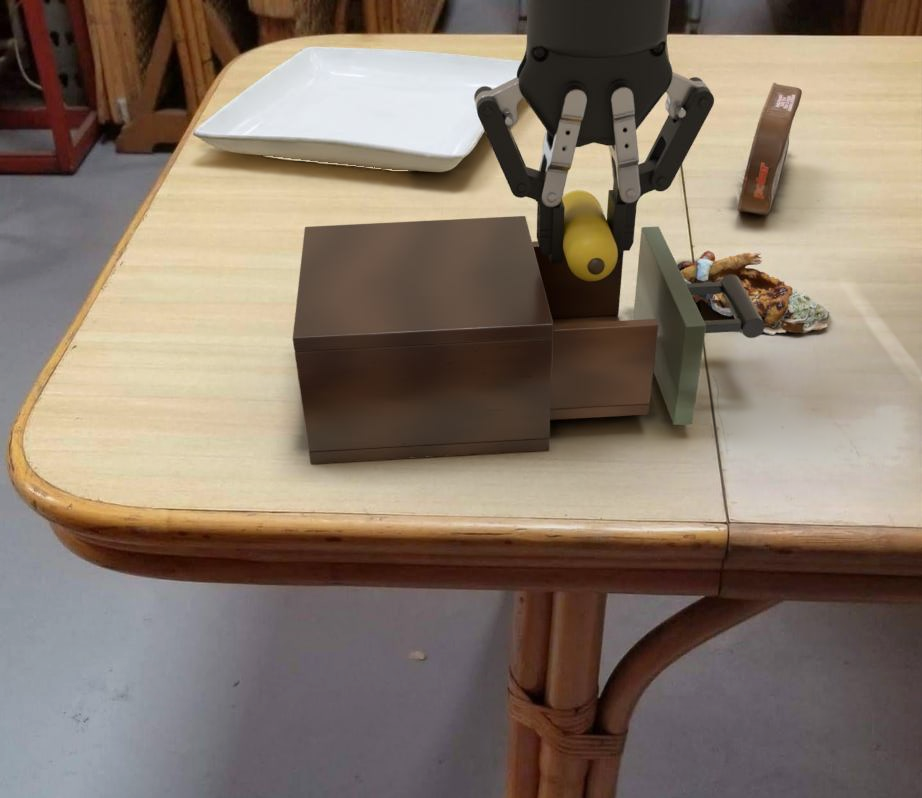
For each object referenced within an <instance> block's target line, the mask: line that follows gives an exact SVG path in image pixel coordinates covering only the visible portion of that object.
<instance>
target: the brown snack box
mask: <svg viewBox="0 0 922 798" xmlns="http://www.w3.org/2000/svg"><path fill="white" fill-rule="evenodd" d="M802 94H803V90H802V89H801V88H799V87H795V86H789V85H785V84H779V83H778V84H777V82H773V83H772V85H771V87H770V90H769V93H768V95H767V98H766V100H765V103H764V105H763V107H762V109H761V111H760V112H761V113H760V116H759V119H758V121H757V125H756V129H755V133H754V136H753V140H752V144H751V148H750V151H749V156H748V159H747V165H746V169H745V172H744V177H743V181H742V186H741V190H740V191H741V192H740V195H739V200H738V204H737V205H738V206H737V212H738V213H741V212H744V213H750V214H755V215H761V216H762V215H763V216H765V215H769V213H770V211H771V209H772V206H773V203H774V200H775V197H776V194H777V191H778V188H779V185H780V180H781V177H782V173H783V169H784V166H785V162H786V158H787V155H788V150H789V145H790V135H791V129H792V126H793V122H794V121H793V120H794V118H795V117H796V113H797V110H798V108H799V105H800V102H801V98H802Z"/></svg>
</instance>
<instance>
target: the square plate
mask: <svg viewBox="0 0 922 798" xmlns="http://www.w3.org/2000/svg"><path fill="white" fill-rule="evenodd" d="M521 62H522V60H514V59H504V58H495V57H489V56H487V57H486V56H477V55H469V54H458V53H448V52H436V51H423V50H409V49H408V50H407V49H392V48H391V49H387V48H369V47H368V48H364V47H336V46H335V47H332V46H331V47H330V46H306V47H303V48H302V49H300V50H299V51H298V52H296V53H294V54H293V55H292V56H290V57H289V58H288V59H286V60H284V61H283V62H282V63H280V64H279V65H277V66H276V67H275V68H273V69H272V70H270V71H268V72H267V73H266V74H265V75H263V76H262V77H261V78H259V79H258V80H256V81H255V82H254V83H252V84H251V85H249V86H248V87H247V88H245V89H244V90H243V91H242V92H240V93H239V94H238V95H236V96H235V97H233V99H231V100H230V101H228V102H227V103H226V104H224V105H223V106H222V107H220V108H219V109H218V110H217V111H216V112H214V113H213V114H212V115H210V116H209V117H208V118H207V119H205V120H204V121H202V123H200V124H199V125H198V126H197V127H196V128H194V129H193V131H192V136H194V137H196V138H198V139H200V140H201V141H202V142H204V143H206V144H208V145H209V146H211V147H213V148H216V149H219V150H223V151H225V152H230V153H236V154H245V155H255V156H261V155H263V156H273V157H283V158H291V159H301V160H310V161H318V162H328V163H338V164H348V165H356V166H364V167H373V168H374V167H375V168H381V169H392V170H408V171H419V172H428V173H429V172H430V173H444V172H448V171H451V170H453V169H454V168H456V167H457V166H458V165H459V164H460V163H461V162H462V161H463V159H464V158H466V157H467V156H468V155H470V153H471V152H472V151H473V150H474V149H475V147H476V146H477V144H478V143H479V141H480V139H481V138H482V136H483V134H484V133H485V130H484V128H483V126H482V124H481V121H480V119H479V117H478V114H477V109H476V105H475V100H474V95H475V92H476V91H477V90H478V89H479V88H480V87H483V86H487V87H490V88H492V89H494V88H496V87H498V86H500V85H502V84H504V83H506V82H508V81H510V80H512V79H514V78H516V77H517V71H518V68H519V66H520V64H521ZM263 156H262V157H263Z"/></svg>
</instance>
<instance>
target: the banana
mask: <svg viewBox="0 0 922 798" xmlns="http://www.w3.org/2000/svg"><path fill="white" fill-rule="evenodd" d="M562 201H563V204H564V207H565V211H564V235H563V250H564V253H565V256H566V260H567V263H568V266H569V268H570V269H571V271H572V272H573V273H574V275H576V276H577V277H578V278H580V279H582V280H585V281H598V280H601V279H603V278H605V277H606V276H607V275H609V274H610V273H611V272H612V270H613V269H614V267H615V265H616V262H617V258H618V250H617V246H616V243H615V240H614V238H613V235H612V233H611V230H610V228H609V225H608V223H607V217H606V215H605V213H604V210H603V207H602V205H601V203H600V201H599V199H597V197H596V196H595V195H594V194H592V193H591V192H588V191H585V190H580V189H578V190H572V191H570V192H567V193H565V194H563V196H562Z"/></svg>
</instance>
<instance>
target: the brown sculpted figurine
mask: <svg viewBox="0 0 922 798" xmlns="http://www.w3.org/2000/svg"><path fill="white" fill-rule="evenodd" d="M760 255H761V252H755V253H754V252H753V253H751V252H743V253H741V254H740V253H739V254H736V255H729V256H728V257H724V258H721V259H717V260H716V256H715V253H713V252H712V251H710V250H706V251H704V252H703V253H702V254H701V256H699V258H697V259H696V260H695V261H694V262H692V261H689V260H685V261H684V260H682V261H680V262H678V264H677V266H678V268H679V270H680V272H681V274H682V276H683V279H684V281H685V283H686V284H692V283H712V282H720V281H721V279H722V278H723V277H725V276H727V275H736V276H737V277H738V278H739V279H740V281H741V283H742V285H743V286H744V288H745V290H746V292H747V293H748V295H749V297H750V299H751V301H752V302H753V304H754V306H755V308H756V309H757V311H758V313H759V315H760V317H761V318H762V320H763V322H764V325H765V326H764V330H763V332H762V333H765V334H767V335H770V336H775V334H776V333H778V334H781V333H782V334H783V333H785V334H786V332H788V333H789V332H790V333H797V334H798V333H801V335H804V334H807V333H809V332H811V331H812V330H815V331H821V330H822V329H825V328H828V324H829V320H830V319H829V318H830V311H828V310H827V309H826V308H825V306H824V305H823V304H821V305H820V304H819V303H817V302H816V301H815V300H814V299H813V298H811V297H810V296H808V295H807V294H806V293H804V291H800V292H798V290H797V289H794V288H793V287H792V286H790V285H787V284H785V281H783V280H781V279H779V278H775V277H774V276H770V274H768V273H766V272H764V271H760V270H758V269H756V268H754V267H752V268H751V267H747V266H755V265H757V266H758V265H760V264H761V263H762V262H763V257H762V256H760ZM793 289H794V290H793ZM692 297H693V300H694V302H695V304H696V303H697V304H699V303H700V302H701V301H702V302H703V301H704V303H706V304H708V307H711V308H712V310H713V311H715V312H717V313H719V314H720V315H723V316H727V317H732V316H733V314H732V312H731V310H730V308H729V306H728V304H727V302H726V300H725V298H724V297H723V295H722V293H721V294H705V295H692Z"/></svg>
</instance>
